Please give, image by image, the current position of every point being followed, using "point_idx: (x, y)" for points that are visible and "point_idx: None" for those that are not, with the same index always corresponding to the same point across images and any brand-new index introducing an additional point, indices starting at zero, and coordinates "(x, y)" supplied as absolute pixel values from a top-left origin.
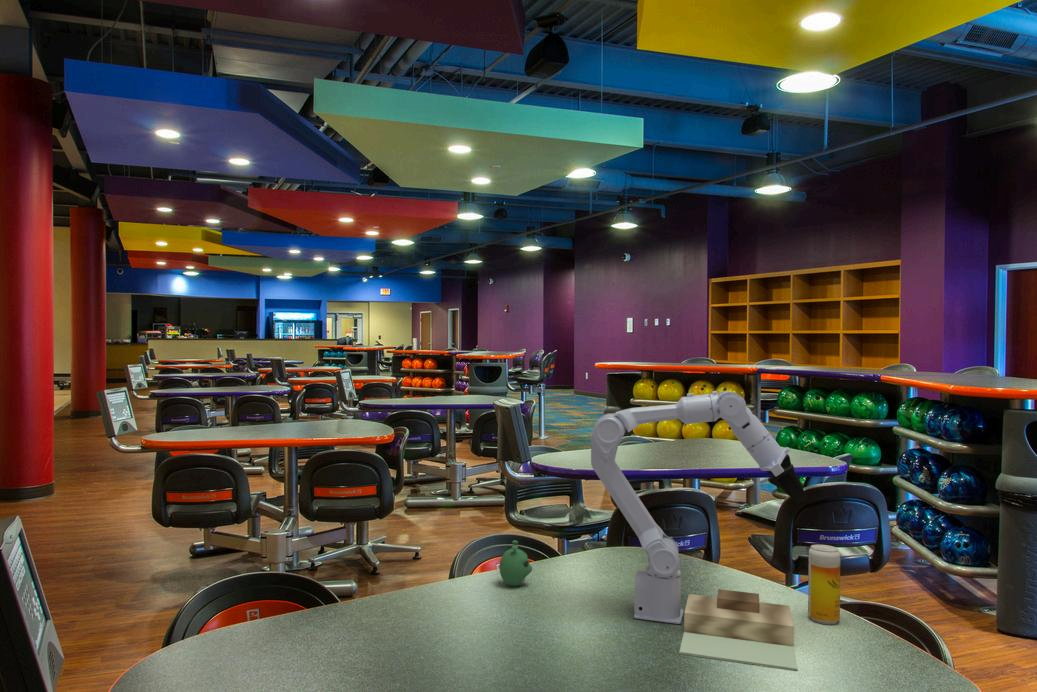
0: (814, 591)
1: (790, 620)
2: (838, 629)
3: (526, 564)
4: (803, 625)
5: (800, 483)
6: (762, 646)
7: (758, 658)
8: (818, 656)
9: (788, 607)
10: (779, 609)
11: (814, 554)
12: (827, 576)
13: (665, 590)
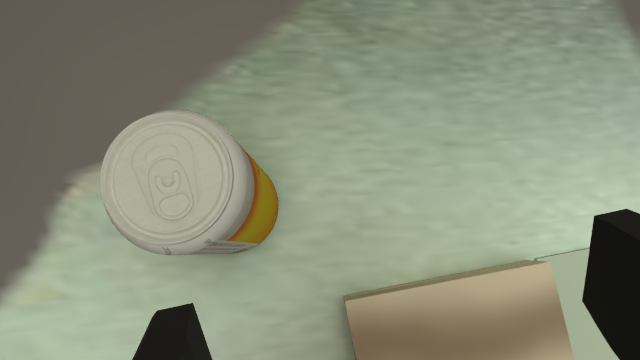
0: (259, 227)
1: (499, 278)
2: (295, 160)
3: None
4: (316, 257)
5: (189, 349)
6: (587, 341)
7: None
8: (547, 190)
9: (366, 302)
10: (406, 328)
11: (232, 221)
12: (257, 173)
13: None
